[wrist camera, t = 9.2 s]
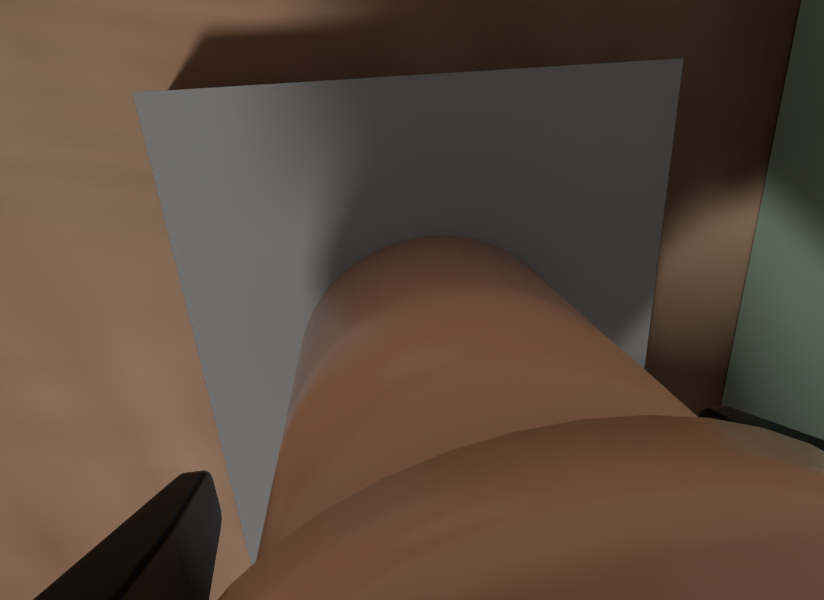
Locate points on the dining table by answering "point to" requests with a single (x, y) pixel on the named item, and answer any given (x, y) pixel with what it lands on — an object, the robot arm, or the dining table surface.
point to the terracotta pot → (514, 455)
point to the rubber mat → (398, 208)
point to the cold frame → (788, 256)
